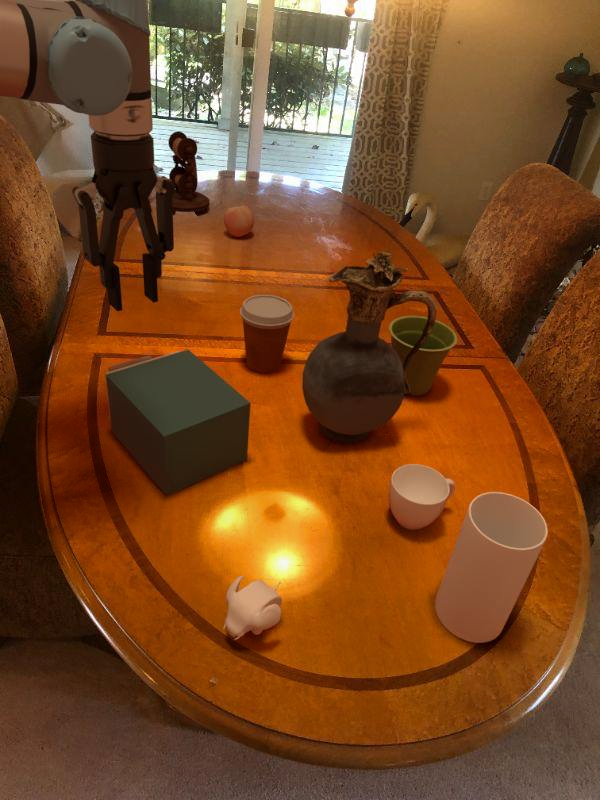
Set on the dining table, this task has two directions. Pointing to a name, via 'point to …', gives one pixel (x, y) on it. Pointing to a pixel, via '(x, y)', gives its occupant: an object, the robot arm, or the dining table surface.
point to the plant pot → (421, 350)
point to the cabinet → (178, 419)
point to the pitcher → (362, 356)
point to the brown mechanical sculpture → (185, 175)
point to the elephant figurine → (252, 608)
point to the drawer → (132, 363)
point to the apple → (238, 220)
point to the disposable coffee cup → (265, 331)
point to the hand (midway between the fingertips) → (133, 302)
